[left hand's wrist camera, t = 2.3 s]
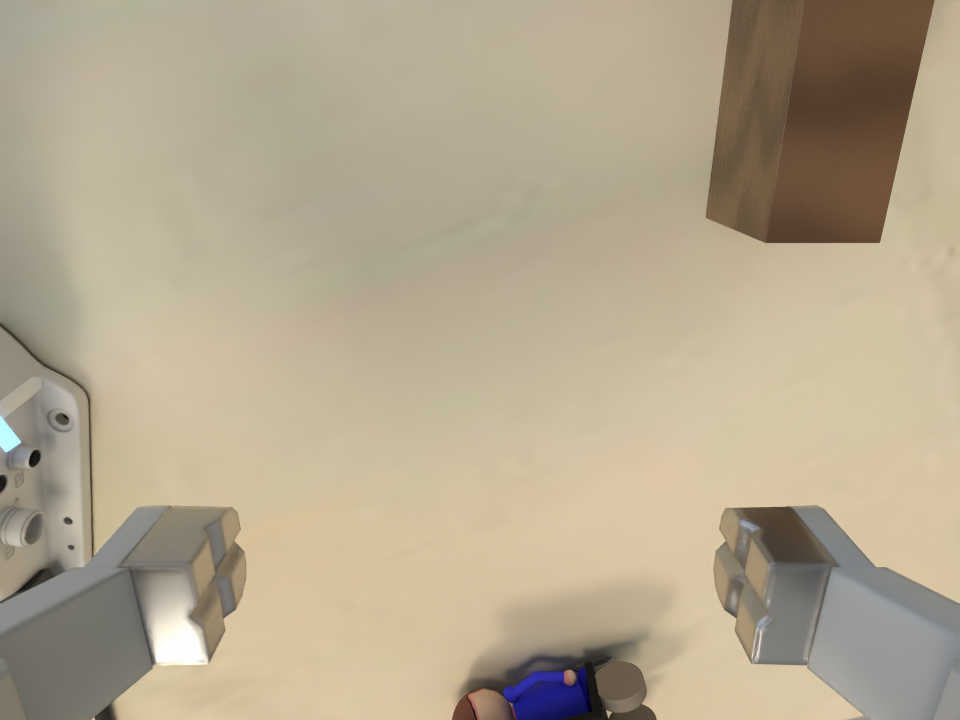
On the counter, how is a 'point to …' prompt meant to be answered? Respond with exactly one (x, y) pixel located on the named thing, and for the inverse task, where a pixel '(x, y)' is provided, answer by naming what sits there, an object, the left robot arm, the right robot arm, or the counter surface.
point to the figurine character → (565, 696)
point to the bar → (814, 116)
